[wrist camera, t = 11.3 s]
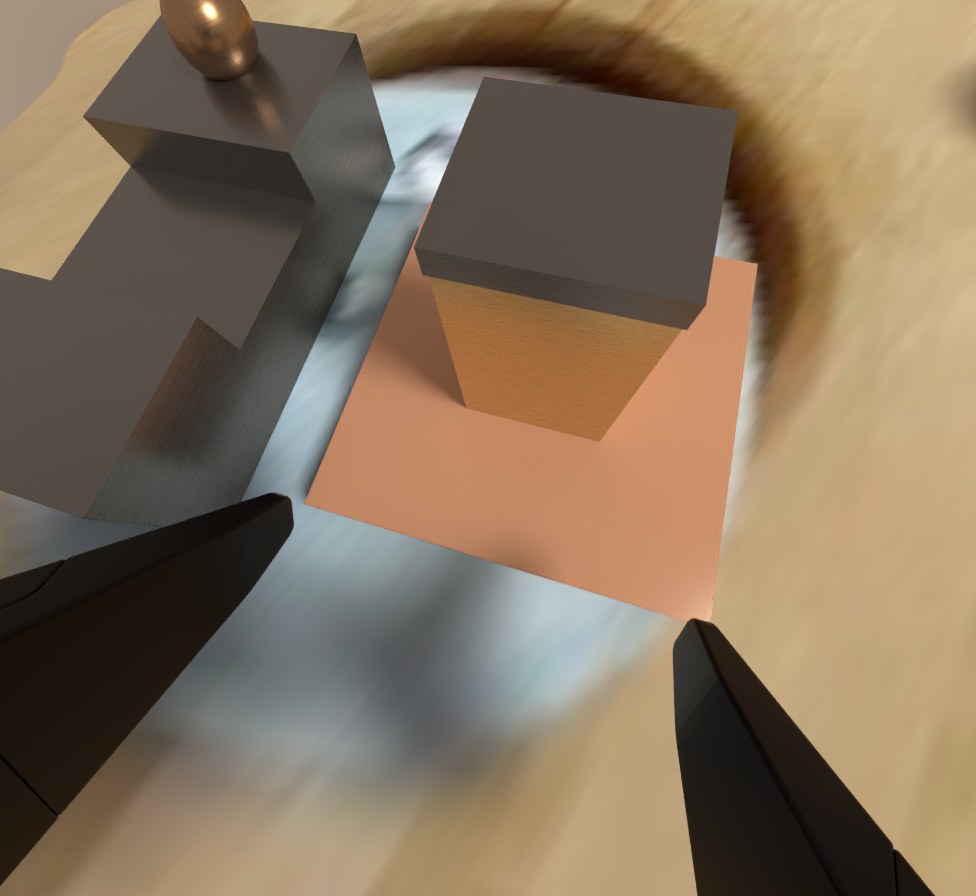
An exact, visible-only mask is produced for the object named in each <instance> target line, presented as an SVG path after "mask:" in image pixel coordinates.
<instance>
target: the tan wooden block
mask: <svg viewBox="0 0 976 896" xmlns="http://www.w3.org/2000/svg"><path fill="white" fill-rule="evenodd" d="M737 113H738V111H733V110H726V109H718V108H711V107H704V106H696V105H689V104H681V103H674V102H667V101H659V100H652V99H644V98H637V97H630V96H622V95H615V94H607V93H600V92H593V91H585V90H578V89H571V88H563V87H556V86H548V85H541V84H534V83H526V82H519V81H511V80H504V79H497V78H489V77H484V78H483V80H482V83H481V85H480V88H479V90H478V93H477V95H476V97H475V100H474V102H473V105H472V107H471V110H470V112H469V114H468V117H467V119H466V122H465V124H464V127H463V129H462V131H461V134H460V136H459V139H458V141H457V144H456V146H455V148H454V151H453V153H452V156H451V158H450V160H449V163H448V165H447V168H446V170H445V173H444V175H443V177H442V180H441V182H440V185H439V187H438V190H437V192H436V194H435V197H434V199H433V202H432V204H431V207H430V209H429V211H428V214H427V216H426V219H425V221H424V224H423V226H422V228H421V231H420V233H419V236H418V238H417V240H416V243H415V245H414V249H415V253H416V256H417V259H418V262H419V266H420V269H421V272H422V275H424V276H428V277H429V280H430V284H431V287H432V290H433V294H434V297H435V301H436V304H437V308H438V311H439V315H440V318H441V322H442V325H443V329H444V332H445V336H446V339H447V343H448V346H449V350H450V353H451V357H452V360H453V363H454V367H455V370H456V374H457V377H458V381H459V384H460V388H461V391H462V395H463V398H464V402H465V405H466V408H467V409H471V410H475V411H479V412H483V413H487V414H491V415H495V416H499V417H503V418H507V419H510V420H514V421H518V422H522V423H526V424H530V425H534V426H538V427H542V428H546V429H550V430H554V431H558V432H562V433H566V434H570V435H574V436H578V437H582V438H586V439H590V440H594V441H598V442H600V441H601V439H602V438H603V437H604V435H605V434H606V433H607V431H608V430H609V428H610V427H611V426H612V424H613V423H614V422H615V420H616V419H617V418H618V416H619V415H620V413H621V412H622V411H623V409H624V408H625V407H626V405H627V404H628V403H629V401H630V400H631V399H632V397H633V396H634V394H635V393H636V392H637V390H638V389H639V388H640V386H641V385H642V384H643V382H644V381H645V380H646V378H647V377H648V375H649V374H650V373H651V371H652V370H653V369H654V367H655V366H656V365H657V363H658V362H659V360H660V359H661V358H662V356H663V355H664V354H665V352H666V351H667V350H668V348H669V347H670V346H671V344H672V343H673V341H674V340H675V339H676V337H677V336H678V335H679V333H680V332H681V331H682V329H683V330H688V328H689V327H690V326H691V324H692V323H693V322H694V320H695V319H696V318H697V317H698V315H699V314H700V313H701V311H702V310H703V309H704V307H705V306H706V302H707V296H708V290H709V284H710V278H711V272H712V266H713V259H714V253H715V247H716V241H717V235H718V229H719V223H720V217H721V211H722V205H723V199H724V192H725V186H726V180H727V174H728V168H729V162H730V156H731V150H732V144H733V138H734V132H735V125H736V119H737Z"/></svg>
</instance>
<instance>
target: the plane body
mask: <svg viewBox="0 0 976 896" xmlns="http://www.w3.org/2000/svg"><path fill="white" fill-rule="evenodd" d="M160 9H161V16H160V17H159V18H158V20H157V21H156V22H155V24H154V25H153V26H152V27H151V29H150V30H149V31H148V33H147V34H146V35H145V37H144V38H143V39H142V40H141V42H140V43H139V44H138V46H137V47H136V48H135V49H134V51H133V52H132V53H131V55H130V56H129V57H128V59H127V60H126V61H125V62H124V64H123V65H122V66H121V68H120V69H119V70H118V72H117V73H116V74H115V75H114V77H113V78H112V79H111V81H110V82H109V83H108V84H107V86H106V87H105V88H104V90H103V91H102V92H101V94H100V95H99V96H98V97H97V99H96V100H95V101H94V103H93V104H92V105H91V107H90V108H89V109H88V110H87V112H86V113H85V114H84V116H83V117H84V118H85V119H86V120H87V121H88V122H89V123H90V124H91V125H92V126H93V127H94V128H95V129H96V130H97V132H98V133H99V134H100V135H101V136H102V137H103V138H104V139H105V140H106V141H107V142H108V143H109V144H110V145H111V146H112V147H113V148H114V149H115V150H116V151H117V152H118V153H119V154H120V155H121V157H122V158H123V159H124V160H125V161H126V162H127V163H128V164H129V165H130V166H131V167H130V168H129V170H128V171H127V173H126V174H125V176H124V177H123V178H122V180H121V181H120V183H119V184H118V186H117V187H116V189H115V190H114V191H113V193H112V194H111V196H110V197H109V199H108V200H107V201H106V203H105V204H104V206H103V207H102V209H101V210H100V212H99V213H98V214H97V216H96V217H95V219H94V220H93V222H92V223H91V224H90V226H89V227H88V229H87V230H86V232H85V233H84V235H83V236H82V237H81V239H80V240H79V242H78V243H77V245H76V246H75V248H74V249H73V250H72V252H71V253H70V255H69V256H68V258H67V259H66V260H65V262H64V263H63V265H62V266H61V268H60V269H59V271H58V272H57V273H56V275H55V276H54V278H53V279H52V281H50V280H46V279H42V278H38V277H34V276H30V275H26V274H22V273H18V272H14V271H10V270H6V269H2V268H0V490H1V491H4V492H7V493H10V494H13V495H16V496H19V497H22V498H24V499H27V500H30V501H33V502H36V503H39V504H42V505H45V506H48V507H51V508H54V509H57V510H60V511H63V512H66V513H69V514H71V515H74V516H77V517H80V518H83V519H92V520H102V521H112V522H121V523H131V524H141V525H150V526H160V527H166V526H169V525H172V524H175V523H178V522H181V521H184V520H187V519H190V518H194V517H197V516H200V515H203V514H206V513H209V512H212V511H215V510H218V509H221V508H225V507H228V506H231V505H234V504H237V503H240V502H241V500H242V497H243V495H244V493H245V491H246V489H247V487H248V484H249V482H250V480H251V478H252V476H253V474H254V471H255V469H256V467H257V465H258V463H259V461H260V458H261V456H262V454H263V452H264V450H265V448H266V445H267V443H268V441H269V439H270V437H271V435H272V432H273V430H274V428H275V426H276V424H277V422H278V419H279V417H280V415H281V413H282V411H283V409H284V406H285V404H286V402H287V400H288V398H289V396H290V394H291V391H292V389H293V387H294V385H295V383H296V381H297V378H298V376H299V374H300V372H301V370H302V368H303V365H304V363H305V361H306V359H307V357H308V355H309V352H310V350H311V348H312V346H313V344H314V342H315V339H316V337H317V335H318V333H319V331H320V329H321V326H322V324H323V322H324V320H325V318H326V316H327V313H328V311H329V309H330V307H331V305H332V303H333V300H334V298H335V296H336V294H337V292H338V290H339V288H340V285H341V283H342V281H343V279H344V277H345V275H346V272H347V270H348V268H349V266H350V264H351V262H352V259H353V257H354V255H355V253H356V251H357V249H358V246H359V244H360V242H361V240H362V238H363V236H364V233H365V231H366V229H367V227H368V225H369V223H370V220H371V218H372V216H373V214H374V212H375V210H376V207H377V205H378V203H379V201H380V199H381V197H382V194H383V192H384V190H385V188H386V186H387V184H388V182H389V179H390V177H391V175H392V173H393V171H394V169H395V165H394V161H393V158H392V155H391V151H390V148H389V144H388V141H387V137H386V134H385V131H384V127H383V124H382V120H381V117H380V114H379V110H378V107H377V103H376V100H375V96H374V93H373V90H372V86H371V83H370V79H369V76H368V72H367V69H366V66H365V62H364V59H363V55H362V52H361V49H360V45H359V42H358V38H357V35H356V34H353V33H345V32H337V31H329V30H322V29H314V28H306V27H298V26H291V25H283V24H275V23H267V22H259V21H252V19H251V17H250V15H249V13H248V11H247V9H246V7H245V6H244V4H243V2H242V1H241V0H160Z"/></svg>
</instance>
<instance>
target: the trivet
mask: <svg viewBox="0 0 976 896" xmlns="http://www.w3.org/2000/svg"><path fill="white" fill-rule="evenodd" d="M430 207H431V203H430V204H429V207H428V209H427V211H426V214H425V216H424V219H423V221H422V223H421V226H420V228H419V231H418V233H417V235H416V238H415V240H414V243H413V245H412V247H411V250H410V252H409V255H408V257H407V259H406V262H405V264H404V266H403V269H402V271H401V274H400V276H399V278H398V281H397V283H396V286H395V288H394V290H393V293H392V295H391V298H390V300H389V302H388V305H387V307H386V310H385V312H384V314H383V317H382V319H381V321H380V324H379V326H378V329H377V331H376V333H375V336H374V338H373V341H372V343H371V345H370V348H369V350H368V353H367V355H366V357H365V360H364V362H363V364H362V367H361V369H360V372H359V374H358V376H357V379H356V381H355V384H354V386H353V388H352V391H351V393H350V396H349V398H348V400H347V403H346V405H345V408H344V410H343V412H342V415H341V417H340V419H339V422H338V424H337V427H336V429H335V431H334V434H333V436H332V439H331V441H330V443H329V446H328V448H327V451H326V453H325V455H324V458H323V460H322V462H321V465H320V467H319V470H318V472H317V474H316V477H315V479H314V482H313V484H312V486H311V489H310V491H309V494H308V496H307V498H306V501H305V503H304V504H306V505H310V506H313V507H316V508H319V509H323V510H326V511H329V512H332V513H336V514H339V515H342V516H345V517H349V518H352V519H355V520H358V521H362V522H365V523H368V524H371V525H375V526H378V527H381V528H384V529H388V530H391V531H394V532H398V533H401V534H404V535H407V536H411V537H414V538H417V539H420V540H424V541H427V542H430V543H433V544H437V545H440V546H443V547H446V548H450V549H453V550H456V551H459V552H463V553H466V554H469V555H473V556H476V557H479V558H482V559H486V560H489V561H492V562H495V563H499V564H502V565H505V566H508V567H512V568H515V569H518V570H521V571H525V572H528V573H531V574H534V575H538V576H541V577H544V578H547V579H551V580H554V581H557V582H561V583H564V584H567V585H570V586H574V587H577V588H580V589H583V590H587V591H590V592H593V593H596V594H600V595H603V596H606V597H609V598H613V599H616V600H619V601H622V602H626V603H629V604H632V605H636V606H639V607H642V608H645V609H649V610H652V611H655V612H658V613H662V614H665V615H668V616H671V617H675V618H678V619H681V620H684V621H689V620H690V619H691V618H697V619H700V620H704V621H707V622H710V620H711V613H712V605H713V598H714V590H715V582H716V575H717V567H718V560H719V552H720V545H721V537H722V529H723V522H724V514H725V507H726V499H727V492H728V484H729V476H730V469H731V461H732V454H733V446H734V439H735V431H736V423H737V416H738V408H739V401H740V393H741V386H742V378H743V370H744V363H745V355H746V348H747V340H748V333H749V325H750V317H751V310H752V302H753V295H754V287H755V280H756V272H757V264H754V263H749V262H743V261H738V260H732V259H727V258H722V257H716V256H714V259H713V266H712V272H711V278H710V284H709V290H708V296H707V302H706V306H705V307H704V309H703V310H702V311H701V313H700V314H699V315H698V317H697V318H696V319H695V320H694V322H693V323H692V324H691V326H690V327H689V328H688V330H683V329H682V331H681V332H680V333H679V335H678V336H677V337H676V339H675V340H674V341H673V343H672V344H671V346H670V347H669V348H668V350H667V351H666V352H665V354H664V355H663V356H662V358H661V359H660V360H659V362H658V363H657V365H656V366H655V367H654V369H653V370H652V371H651V373H650V374H649V375H648V377H647V378H646V380H645V381H644V382H643V384H642V385H641V386H640V388H639V389H638V390H637V392H636V393H635V394H634V396H633V397H632V399H631V400H630V401H629V403H628V404H627V405H626V407H625V408H624V409H623V411H622V412H621V413H620V415H619V416H618V418H617V419H616V420H615V422H614V423H613V424H612V426H611V427H610V428H609V430H608V431H607V433H606V434H605V435H604V437H603V438H602V439H601V441H600V442H598V441H594V440H590V439H586V438H582V437H578V436H574V435H570V434H566V433H562V432H558V431H554V430H550V429H546V428H542V427H538V426H534V425H530V424H526V423H522V422H518V421H514V420H510V419H507V418H503V417H499V416H495V415H491V414H487V413H483V412H479V411H475V410H471V409H467V408H466V405H465V402H464V398H463V395H462V391H461V388H460V384H459V381H458V377H457V374H456V370H455V367H454V363H453V360H452V357H451V353H450V350H449V346H448V343H447V339H446V336H445V332H444V329H443V325H442V322H441V318H440V315H439V311H438V308H437V304H436V301H435V297H434V294H433V290H432V287H431V284H430V280H429V277H428V276H424V275H422V272H421V269H420V266H419V262H418V259H417V256H416V253H415V249H414V245H415V243H416V240H417V238H418V236H419V233H420V231H421V228H422V226H423V224H424V221H425V219H426V216H427V214H428V211H429V209H430Z"/></svg>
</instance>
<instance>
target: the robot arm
mask: <svg viewBox="0 0 976 896" xmlns="http://www.w3.org/2000/svg"><path fill="white" fill-rule="evenodd" d="M293 526H294V520H293V510H292V502H291V499H290V498H289V497H288V496H285V495H281V494H278V493H268V494H265V495H262V496H259V497H256V498H252V499H249V500H246V501H243V502H240V503H237V504H234V505H231V506H228V507H225V508H221V509H218V510H215V511H212V512H209V513H206V514H203V515H200V516H197V517H194V518H190V519H187V520H184V521H181V522H178V523H175V524H172V525H169V526H166V527H163V528H159V529H156V530H153V531H150V532H147V533H144V534H141V535H138V536H135V537H132V538H128V539H125V540H122V541H119V542H116V543H113V544H110V545H107V546H104V547H101V548H97V549H94V550H91V551H88V552H85V553H82V554H79V555H76V556H73V557H70V558H68V559H67V560H60V561H57V562H54V563H51V564H48V565H45V566H42V567H38V568H35V569H32V570H29V571H26V572H22V573H19V574H16V575H13V576H10V577H6V578H3V579H0V886H1V885H2V884H3V882H4V881H5V880H6V879H7V878H8V877H9V875H10V874H11V873H12V872H13V871H14V869H15V868H16V867H17V866H18V865H19V864H20V862H21V861H22V860H23V859H24V858H25V857H26V855H27V854H28V853H29V852H30V851H31V850H32V848H33V847H34V846H35V845H36V844H37V842H38V841H39V840H40V839H41V838H42V837H43V835H44V834H45V833H46V832H47V831H48V830H49V828H50V827H51V826H52V825H53V824H54V822H55V821H56V820H57V819H58V815H60V814H62V813H63V811H64V810H65V809H66V808H67V807H68V806H69V804H70V803H71V802H72V801H73V800H74V798H75V797H76V796H77V795H78V794H79V793H80V791H81V790H82V789H83V788H84V787H85V786H86V784H87V783H88V782H89V781H90V780H91V778H92V777H93V776H94V775H95V774H96V773H97V771H98V770H99V769H100V768H101V767H102V766H103V764H104V763H105V762H106V761H107V760H108V758H109V757H110V756H111V755H112V754H113V753H114V751H115V750H116V749H117V748H118V747H119V746H120V744H121V743H122V742H123V741H124V740H125V738H126V737H127V736H128V735H129V734H130V733H131V731H132V730H133V729H134V728H135V727H136V726H137V724H138V723H139V722H140V721H141V720H142V718H143V717H144V716H145V715H146V714H147V713H148V711H149V710H150V709H151V708H152V707H153V706H154V704H155V703H156V702H157V701H158V700H159V698H160V697H161V696H162V695H163V694H164V693H165V691H166V690H167V689H168V688H169V687H170V686H171V684H172V683H173V682H174V681H175V680H176V678H177V677H178V676H179V675H180V674H181V673H182V671H183V670H184V669H185V668H186V667H187V666H188V664H189V663H190V662H191V661H192V660H193V658H194V657H195V656H196V655H197V654H198V653H199V651H200V650H201V649H202V648H203V647H204V646H205V644H206V643H207V642H208V641H209V640H210V638H211V637H212V636H213V635H214V634H215V633H216V631H217V630H218V629H219V628H220V627H221V626H222V624H223V623H224V622H225V621H226V620H227V618H228V617H229V616H230V615H231V614H232V613H233V611H234V610H235V609H236V608H237V607H238V606H239V604H240V603H241V602H242V601H243V600H244V598H245V597H246V596H247V595H248V593H249V592H250V591H251V590H252V588H253V587H254V586H255V584H256V583H257V582H258V580H259V579H260V577H261V576H262V575H263V573H264V572H265V570H266V569H267V567H268V566H269V565H270V563H271V562H272V560H273V559H274V557H275V556H276V554H277V553H278V552H279V550H280V549H281V547H282V546H283V544H284V543H285V542H286V540H287V539H288V537H289V536H290V534H291V532H292V530H293ZM673 679H674V710H675V732H676V741H677V749H678V757H679V764H680V771H681V779H682V786H683V793H684V800H685V808H686V815H687V822H688V830H689V837H690V844H691V851H692V859H693V866H694V873H695V881H696V888H697V895H698V896H935V895H934V894H933V893H932V891H931V890H930V889H929V888H928V887H927V885H926V884H925V883H924V882H923V880H922V879H921V878H920V877H919V875H918V874H917V873H916V872H915V871H914V869H913V868H912V867H911V866H910V864H909V863H908V862H907V861H906V859H905V858H904V857H903V856H902V854H901V853H900V852H899V851H898V850H895V849H893V844H892V842H891V841H890V840H889V839H888V837H887V836H886V835H885V834H884V833H883V831H882V830H881V829H880V828H879V826H878V825H877V824H876V823H875V821H874V820H873V819H872V818H871V816H870V815H869V814H868V813H867V812H866V810H865V809H864V808H863V807H862V805H861V804H860V803H859V802H858V800H857V799H856V798H855V797H854V795H853V794H852V793H851V792H850V791H849V789H848V788H847V787H846V786H845V784H844V783H843V782H842V781H841V779H840V778H839V777H838V776H837V775H836V773H835V772H834V771H833V770H832V768H831V767H830V766H829V765H828V763H827V762H826V761H825V760H824V758H823V757H822V756H821V755H820V754H819V752H818V751H817V750H816V749H815V747H814V746H813V745H812V744H811V742H810V741H809V740H808V739H807V737H806V736H805V735H804V734H803V733H802V731H801V730H800V729H799V728H798V726H797V725H796V724H795V723H794V721H793V720H792V719H791V718H790V716H789V715H788V714H787V713H786V712H785V710H784V709H783V708H782V707H781V705H780V704H779V703H778V702H777V700H776V699H775V698H774V697H773V696H772V694H771V693H770V692H769V691H768V689H767V688H766V687H765V686H764V684H763V683H762V682H761V681H760V679H759V678H758V677H757V676H756V675H755V673H754V672H753V671H752V670H751V668H750V667H749V666H748V665H747V663H746V662H745V661H744V660H743V658H742V657H741V656H740V655H739V654H738V652H737V651H736V650H735V649H734V647H733V646H732V645H731V644H730V642H729V641H728V640H727V639H726V638H725V636H724V635H723V634H722V633H721V631H720V630H719V629H718V628H717V627H716V626H715V625H714V624H713V623H710V622H707V621H704V620H700V619H697V618H691V619H690V620H689V621H688V622H687V624H686V625H685V627H684V628H683V630H682V631H681V633H680V635H679V636H678V638H677V639H676V641H675V643H674V647H673Z"/></svg>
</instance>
